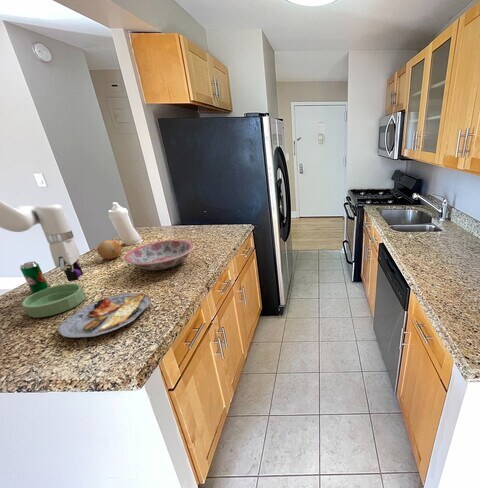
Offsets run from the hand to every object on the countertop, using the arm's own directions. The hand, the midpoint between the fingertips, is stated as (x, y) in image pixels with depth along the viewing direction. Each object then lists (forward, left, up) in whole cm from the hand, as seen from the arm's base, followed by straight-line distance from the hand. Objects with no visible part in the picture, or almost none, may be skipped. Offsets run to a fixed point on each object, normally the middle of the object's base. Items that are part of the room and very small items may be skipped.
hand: (75, 277), depth 108 cm
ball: (0, 0, +2) cm, 2 cm away
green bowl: (-3, -13, -5) cm, 14 cm away
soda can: (-15, +5, -5) cm, 16 cm away
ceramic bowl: (+30, +9, -5) cm, 32 cm away
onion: (+4, +30, -5) cm, 31 cm away
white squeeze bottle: (+8, +52, -5) cm, 53 cm away
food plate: (+17, -30, -5) cm, 35 cm away
